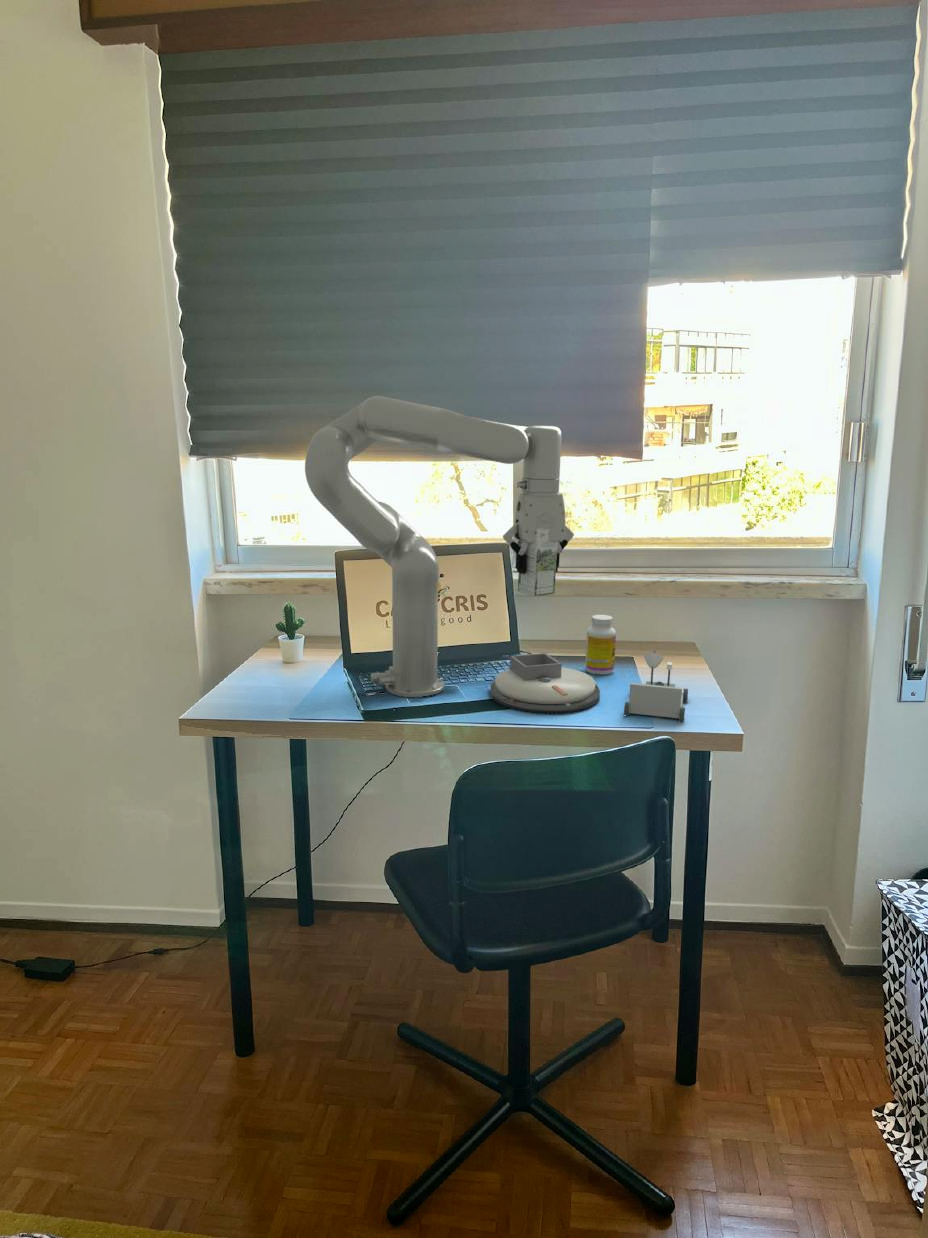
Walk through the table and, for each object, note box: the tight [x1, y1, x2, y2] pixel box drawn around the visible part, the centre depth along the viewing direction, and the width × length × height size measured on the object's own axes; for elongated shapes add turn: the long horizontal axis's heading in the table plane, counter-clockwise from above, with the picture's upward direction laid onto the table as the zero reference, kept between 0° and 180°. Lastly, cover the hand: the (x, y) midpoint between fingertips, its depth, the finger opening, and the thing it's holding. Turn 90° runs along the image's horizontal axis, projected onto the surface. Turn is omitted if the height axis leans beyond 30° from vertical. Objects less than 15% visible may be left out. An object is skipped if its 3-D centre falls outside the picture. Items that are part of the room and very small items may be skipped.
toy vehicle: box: [623, 650, 689, 723], centre depth 185 cm, size 18×10×12 cm
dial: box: [494, 652, 596, 704], centre depth 190 cm, size 21×21×4 cm
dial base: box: [489, 680, 601, 715], centre depth 191 cm, size 23×23×2 cm
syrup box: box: [517, 528, 558, 597], centre depth 191 cm, size 6×6×14 cm
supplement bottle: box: [584, 614, 617, 676], centre depth 207 cm, size 7×7×13 cm
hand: (537, 571), depth 191 cm, fingers closed on syrup box, 6 cm apart
